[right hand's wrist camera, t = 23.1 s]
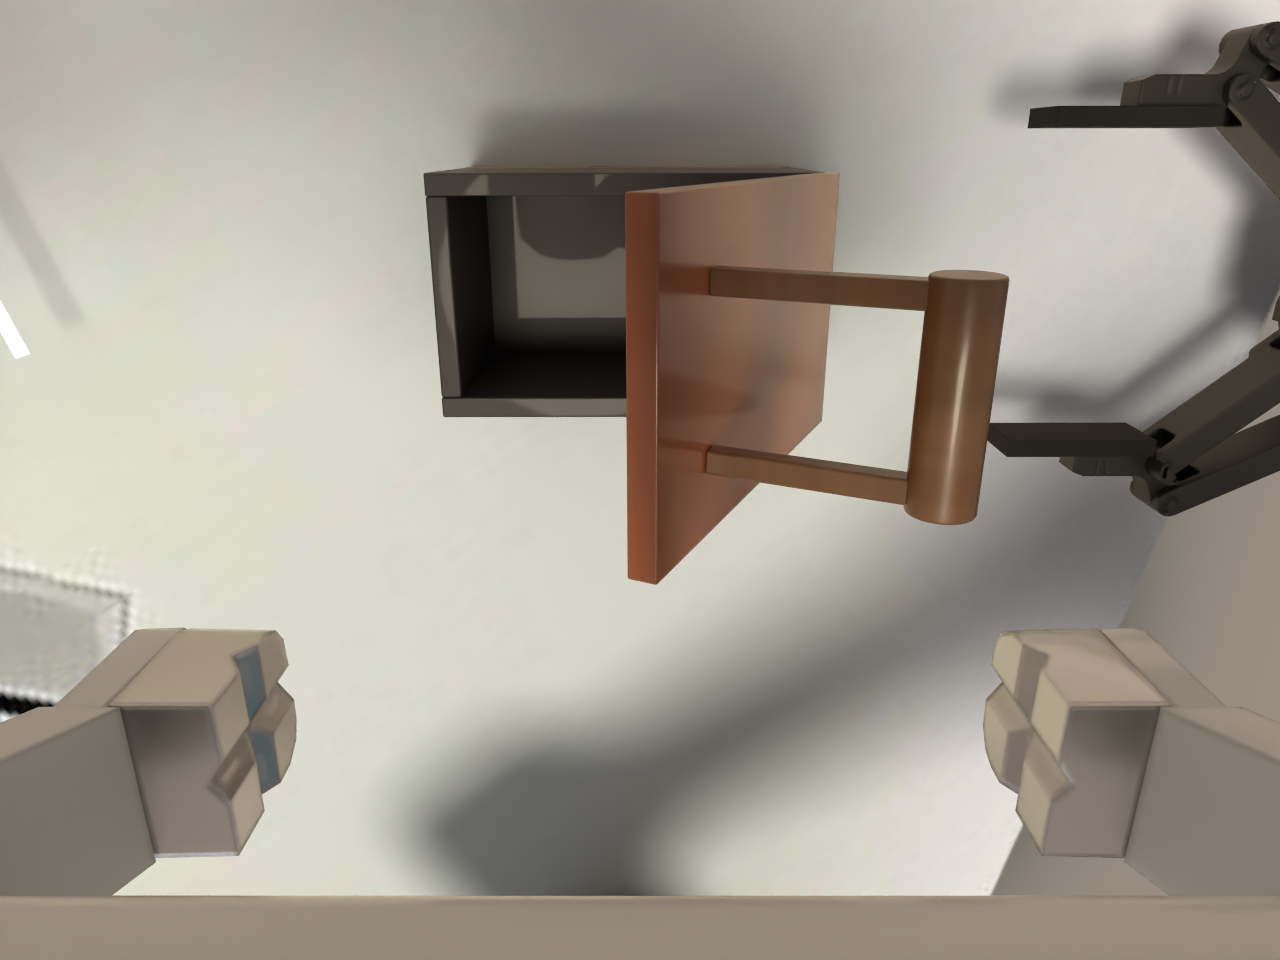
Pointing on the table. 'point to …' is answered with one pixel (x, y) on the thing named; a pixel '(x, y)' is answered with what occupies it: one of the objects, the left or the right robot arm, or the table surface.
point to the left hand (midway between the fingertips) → (1017, 288)
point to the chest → (539, 283)
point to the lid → (779, 362)
